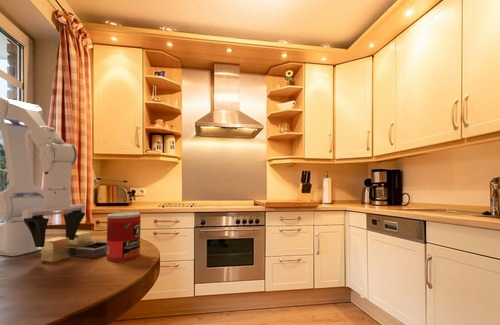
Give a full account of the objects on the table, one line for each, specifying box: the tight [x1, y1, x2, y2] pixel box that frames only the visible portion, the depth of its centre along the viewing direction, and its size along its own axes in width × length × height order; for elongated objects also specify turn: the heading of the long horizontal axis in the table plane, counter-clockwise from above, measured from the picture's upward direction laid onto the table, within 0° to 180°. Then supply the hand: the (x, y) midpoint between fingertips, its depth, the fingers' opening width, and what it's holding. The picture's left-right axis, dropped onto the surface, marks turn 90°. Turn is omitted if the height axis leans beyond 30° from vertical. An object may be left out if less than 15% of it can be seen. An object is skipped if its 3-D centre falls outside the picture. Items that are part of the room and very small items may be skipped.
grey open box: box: [68, 230, 107, 259], centre depth 72 cm, size 14×8×5 cm, turn 72°
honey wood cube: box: [40, 236, 69, 263], centre depth 66 cm, size 4×4×5 cm
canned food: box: [106, 211, 142, 262], centre depth 67 cm, size 8×8×11 cm
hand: (55, 243), depth 66 cm, fingers open, 7 cm apart
